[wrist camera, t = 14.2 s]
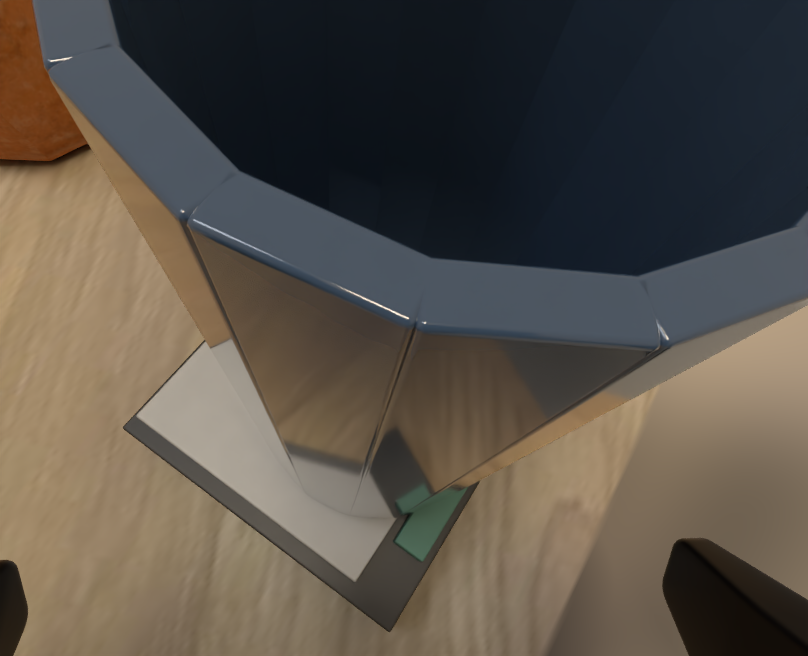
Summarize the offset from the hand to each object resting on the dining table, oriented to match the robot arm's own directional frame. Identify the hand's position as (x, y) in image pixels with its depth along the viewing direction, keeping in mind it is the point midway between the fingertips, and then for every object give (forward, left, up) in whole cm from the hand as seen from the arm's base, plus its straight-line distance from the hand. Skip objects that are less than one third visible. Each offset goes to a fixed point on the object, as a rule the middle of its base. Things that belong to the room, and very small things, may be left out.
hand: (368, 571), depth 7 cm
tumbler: (+2, -4, -8) cm, 9 cm away
